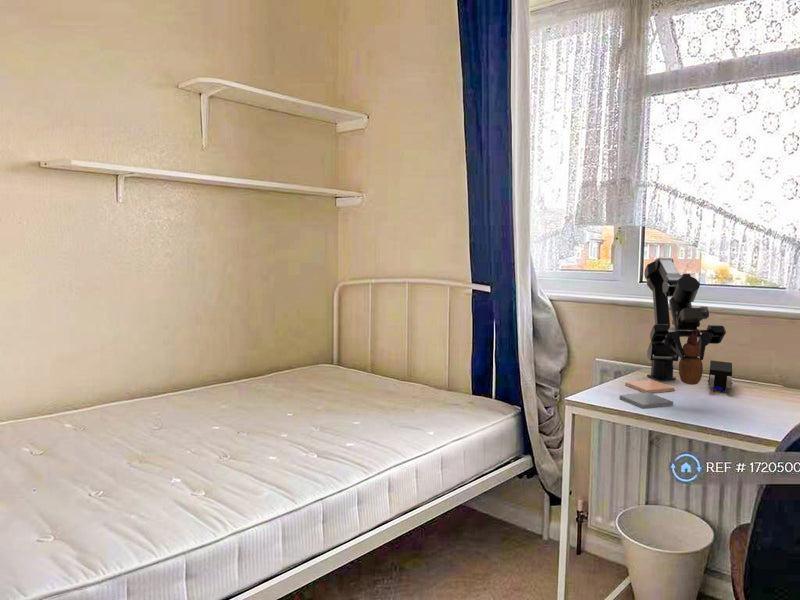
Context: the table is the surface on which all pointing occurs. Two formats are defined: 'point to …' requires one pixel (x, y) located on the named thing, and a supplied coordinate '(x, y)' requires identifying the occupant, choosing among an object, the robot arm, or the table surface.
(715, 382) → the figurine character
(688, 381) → the wooden figurine
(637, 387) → the terracotta tile
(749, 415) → the table surface
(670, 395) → the table surface
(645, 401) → the slate tile
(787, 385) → the table surface
